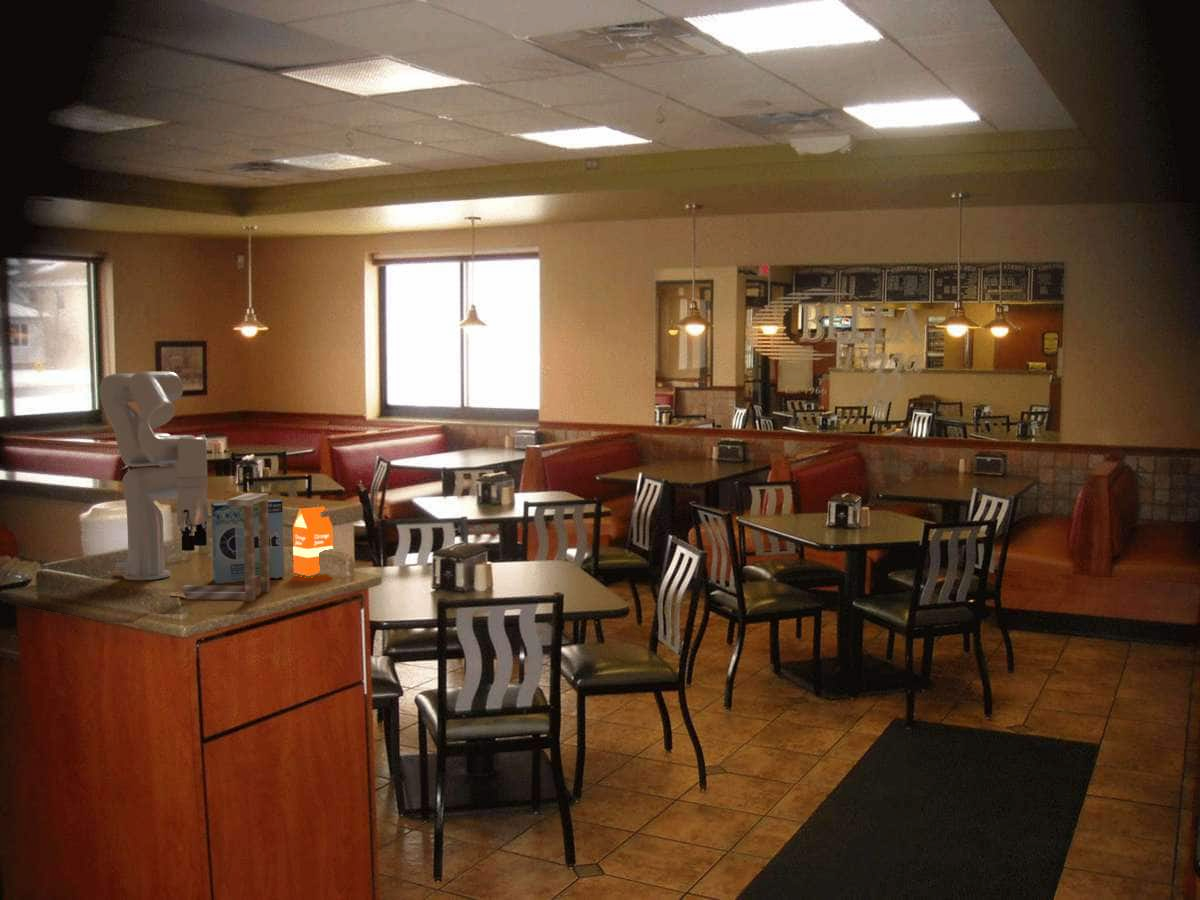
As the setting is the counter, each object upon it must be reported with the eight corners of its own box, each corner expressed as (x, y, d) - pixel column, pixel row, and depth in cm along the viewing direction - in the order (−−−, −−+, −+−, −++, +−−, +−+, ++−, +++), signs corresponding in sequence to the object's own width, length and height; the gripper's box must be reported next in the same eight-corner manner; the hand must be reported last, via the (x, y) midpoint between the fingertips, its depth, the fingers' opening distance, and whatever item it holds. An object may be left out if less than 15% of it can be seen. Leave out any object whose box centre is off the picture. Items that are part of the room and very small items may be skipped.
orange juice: (333, 573, 334) (332, 507, 332) (308, 578, 327) (307, 510, 326) (318, 570, 339) (317, 505, 337) (293, 574, 332) (291, 507, 331)
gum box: (281, 575, 331) (279, 498, 329) (285, 578, 326) (283, 500, 325) (212, 581, 322) (210, 502, 320) (215, 584, 317) (214, 504, 315)
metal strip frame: (165, 601, 294) (162, 499, 292) (188, 589, 309) (185, 493, 307) (252, 601, 294) (250, 499, 292) (270, 590, 309) (268, 493, 307)
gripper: (191, 479, 308) (193, 543, 309) (165, 486, 291) (167, 553, 292) (218, 479, 308) (220, 543, 309) (193, 486, 291) (195, 553, 292)
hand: (194, 547), depth 301 cm, fingers open, 7 cm apart
